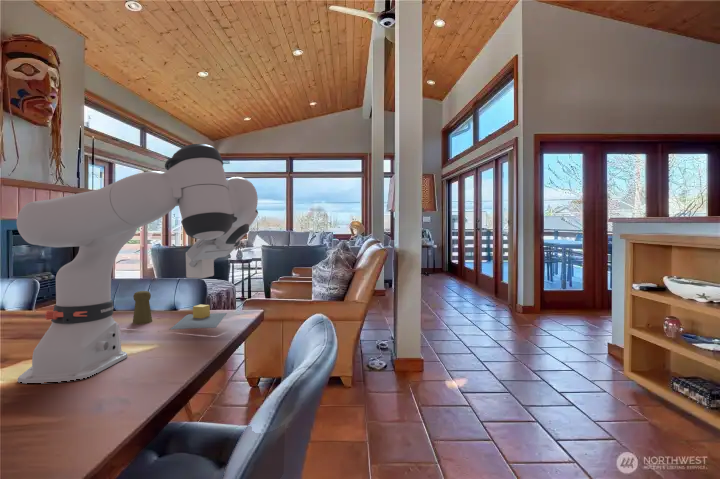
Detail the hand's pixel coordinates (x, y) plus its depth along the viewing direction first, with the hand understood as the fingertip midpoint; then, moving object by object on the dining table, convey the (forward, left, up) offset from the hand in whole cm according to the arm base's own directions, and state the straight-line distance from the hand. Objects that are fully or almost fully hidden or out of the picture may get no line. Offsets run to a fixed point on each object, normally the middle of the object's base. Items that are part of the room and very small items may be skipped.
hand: (198, 264), depth 143 cm
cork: (-5, +17, -20) cm, 27 cm away
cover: (0, 0, -4) cm, 4 cm away
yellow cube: (0, -1, -19) cm, 19 cm away
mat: (-6, -2, -19) cm, 20 cm away
